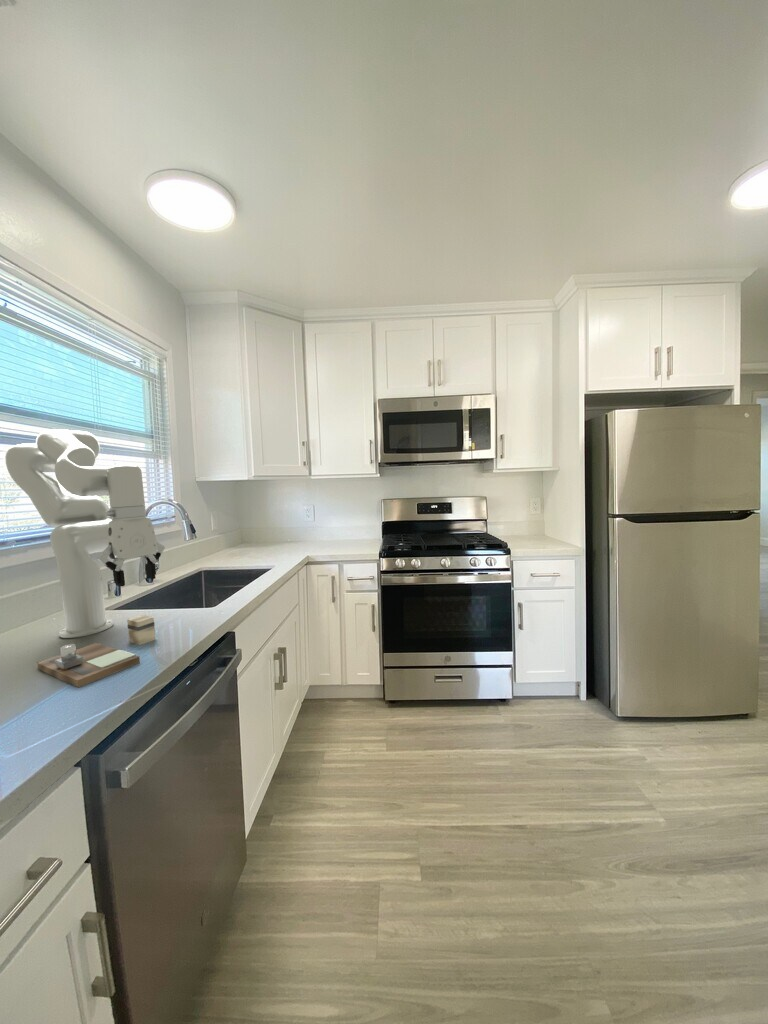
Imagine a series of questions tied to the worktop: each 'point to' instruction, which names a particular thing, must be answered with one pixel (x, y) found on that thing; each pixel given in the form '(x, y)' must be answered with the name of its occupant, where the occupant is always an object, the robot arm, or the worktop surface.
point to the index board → (86, 666)
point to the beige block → (141, 629)
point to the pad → (110, 658)
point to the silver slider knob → (68, 657)
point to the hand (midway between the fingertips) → (136, 581)
